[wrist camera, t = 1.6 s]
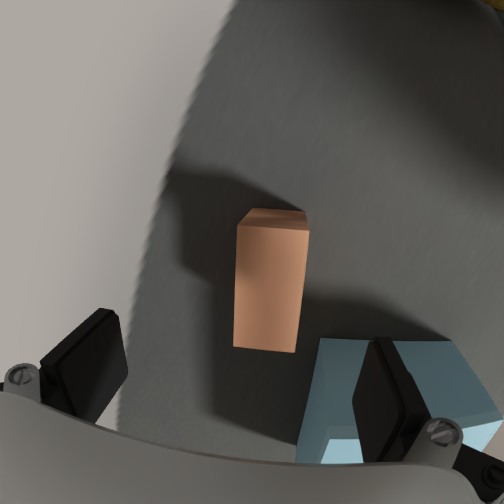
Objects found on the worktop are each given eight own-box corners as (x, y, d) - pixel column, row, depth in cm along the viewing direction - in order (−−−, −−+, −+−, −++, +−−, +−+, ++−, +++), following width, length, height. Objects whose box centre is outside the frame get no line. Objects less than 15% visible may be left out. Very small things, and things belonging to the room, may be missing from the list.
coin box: (451, 340, 21) (504, 419, 12) (402, 444, 26) (420, 517, 16) (320, 337, 23) (329, 439, 13) (296, 446, 27) (291, 528, 17)
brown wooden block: (304, 211, 20) (309, 230, 15) (295, 306, 22) (294, 352, 17) (253, 207, 21) (237, 225, 15) (248, 301, 23) (233, 346, 17)
